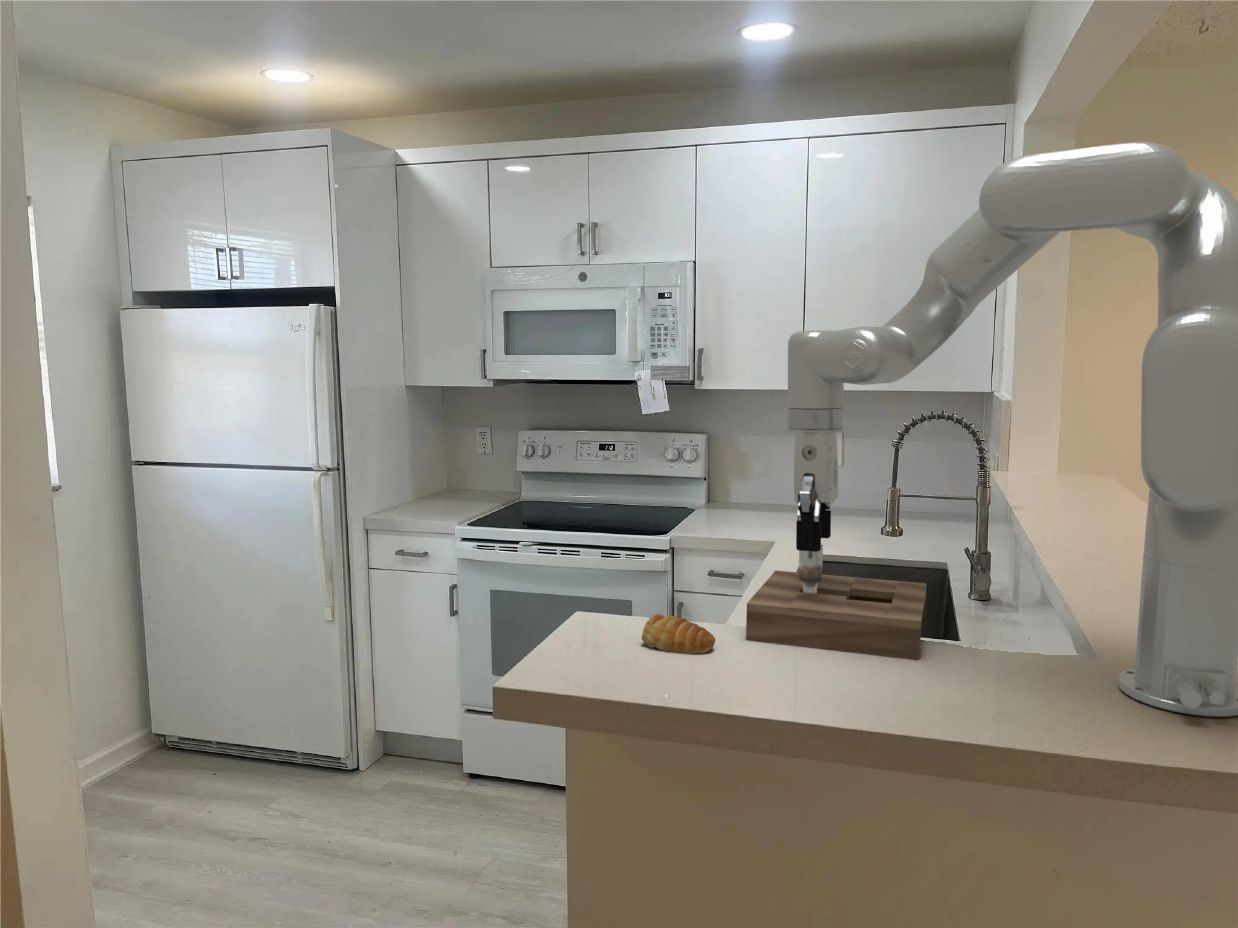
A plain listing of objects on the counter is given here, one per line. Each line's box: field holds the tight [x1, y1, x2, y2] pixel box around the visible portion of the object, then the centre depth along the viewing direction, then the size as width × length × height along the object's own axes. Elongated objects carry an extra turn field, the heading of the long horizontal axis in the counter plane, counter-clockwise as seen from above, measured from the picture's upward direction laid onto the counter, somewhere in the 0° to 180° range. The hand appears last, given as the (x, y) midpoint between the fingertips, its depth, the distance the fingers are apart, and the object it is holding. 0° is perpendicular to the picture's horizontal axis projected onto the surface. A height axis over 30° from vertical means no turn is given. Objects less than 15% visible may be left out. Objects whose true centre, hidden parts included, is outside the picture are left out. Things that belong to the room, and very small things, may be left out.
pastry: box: [641, 613, 716, 655], centre depth 116 cm, size 9×7×4 cm
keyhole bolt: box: [798, 543, 824, 594], centre depth 125 cm, size 4×4×12 cm
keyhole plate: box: [745, 569, 927, 661], centre depth 124 cm, size 20×22×5 cm
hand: (814, 543), depth 124 cm, fingers open, 9 cm apart
